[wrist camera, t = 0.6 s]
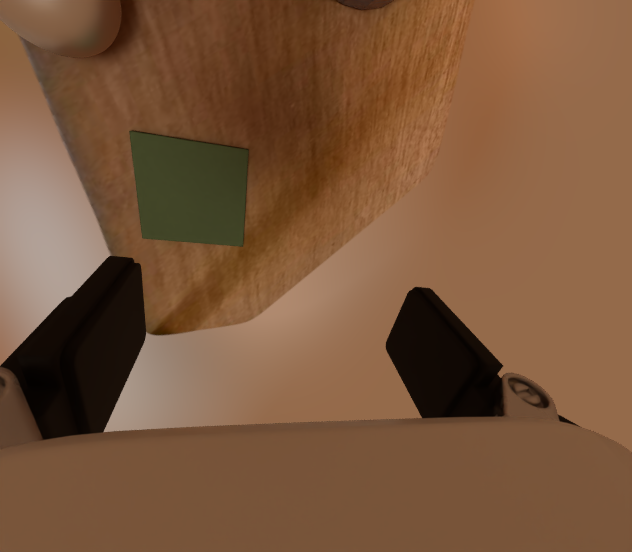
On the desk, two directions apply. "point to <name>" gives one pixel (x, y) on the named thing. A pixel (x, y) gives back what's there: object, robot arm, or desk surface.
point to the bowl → (365, 3)
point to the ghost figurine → (64, 24)
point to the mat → (189, 189)
